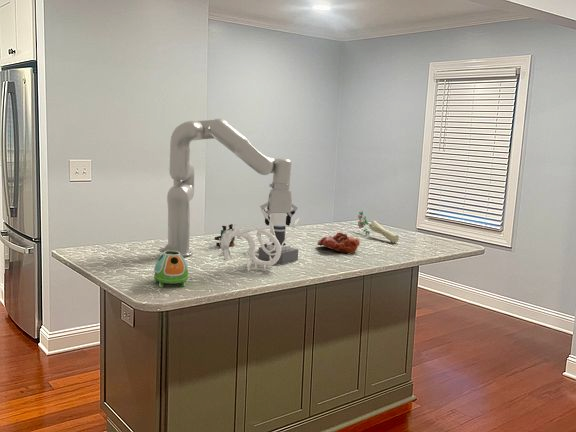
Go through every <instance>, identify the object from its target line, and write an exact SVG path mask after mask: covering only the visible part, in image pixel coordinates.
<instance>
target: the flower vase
mask: <svg viewBox="0 0 576 432" xmlns="http://www.w3.org/2000/svg"><path fill="white" fill-rule="evenodd" d="M358 213H359V214H358V216H357V218H358V219H359V220H358V221H357V226H358V228H359V229H363V228H364V230H363V232H362V233H364V232H365V233H364V234H365V236H367V235H370V233H371V232H370V230H371V231H373V232H374V233H377V234H380V235H382V236H383V237H385V238H386V239H387V240H388V241H390V242H391V243H392V244H395V243H394V242H396V243H397V242H399V239H400V237H399V235H397V234H395V233H394V232H392V231H390V230H388V229H385V228H384V227H383V226H382V225H381V224H380V223H378V222H377V221H376V220H373V221H372V222H371V223H369V222H368V221H367V218H366V216H364V212H363V210H361V211H359V212H358ZM366 225H367V228H368V229H367V228H365V227H366ZM368 226H369V227H368ZM369 229H370V230H369Z"/></svg>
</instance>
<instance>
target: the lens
mask: <svg viewBox="0 0 576 432" xmlns="http://www.w3.org/2000/svg"><path fill="white" fill-rule="evenodd" d="M274 232H275V236H276V238H277V240H278V241H279V243H280V245H282V243H283V242H284V240H285V238H286V231H285V226H281V225H276V226H274ZM274 232H273V235H274ZM285 242H286V241H285ZM285 242H284V244H283V245H285ZM273 245H275V244H274V242H273Z"/></svg>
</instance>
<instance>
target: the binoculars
mask: <svg viewBox="0 0 576 432" xmlns="http://www.w3.org/2000/svg"><path fill="white" fill-rule="evenodd" d="M221 227H222V230H220V235H218V236H217V235H216V236H215V237H214V240H215V241H220V240H221V238H222V237H223V236H222V235H223V233H226V231H228V230H230V229H232V231H233V230H234V224H232V223H231V224H228V229H227V225H221ZM225 230H226V231H225ZM224 231H225V232H224ZM230 231H231V230H230ZM219 239H220V240H219ZM232 239H233V240H232ZM232 239H231V242H230V244H229V247H230V246H231V247H234V246H235V243H234V241H235V240H236V236H235V237H233V238H232ZM219 243H220V242H215V245H216V246H220V245H221V243H220V244H219Z"/></svg>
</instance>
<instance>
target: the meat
mask: <svg viewBox="0 0 576 432" xmlns="http://www.w3.org/2000/svg"><path fill="white" fill-rule="evenodd" d="M360 242H361V241H360V238H359V237H356V238H355V237H353V236H348V233H347V232H343V231H340V232H337V233H336V234H335V235H333V236H332V235H329V236H324V237H322V238H321V239H318V242H317V245H318V246H320V247H324V248H329V249H331V250H334V251H336V252H339V253H341V254H342V253H343V254H346V253H351V254H355V252H356V251H357V249H358V248H359V246H360Z"/></svg>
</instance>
